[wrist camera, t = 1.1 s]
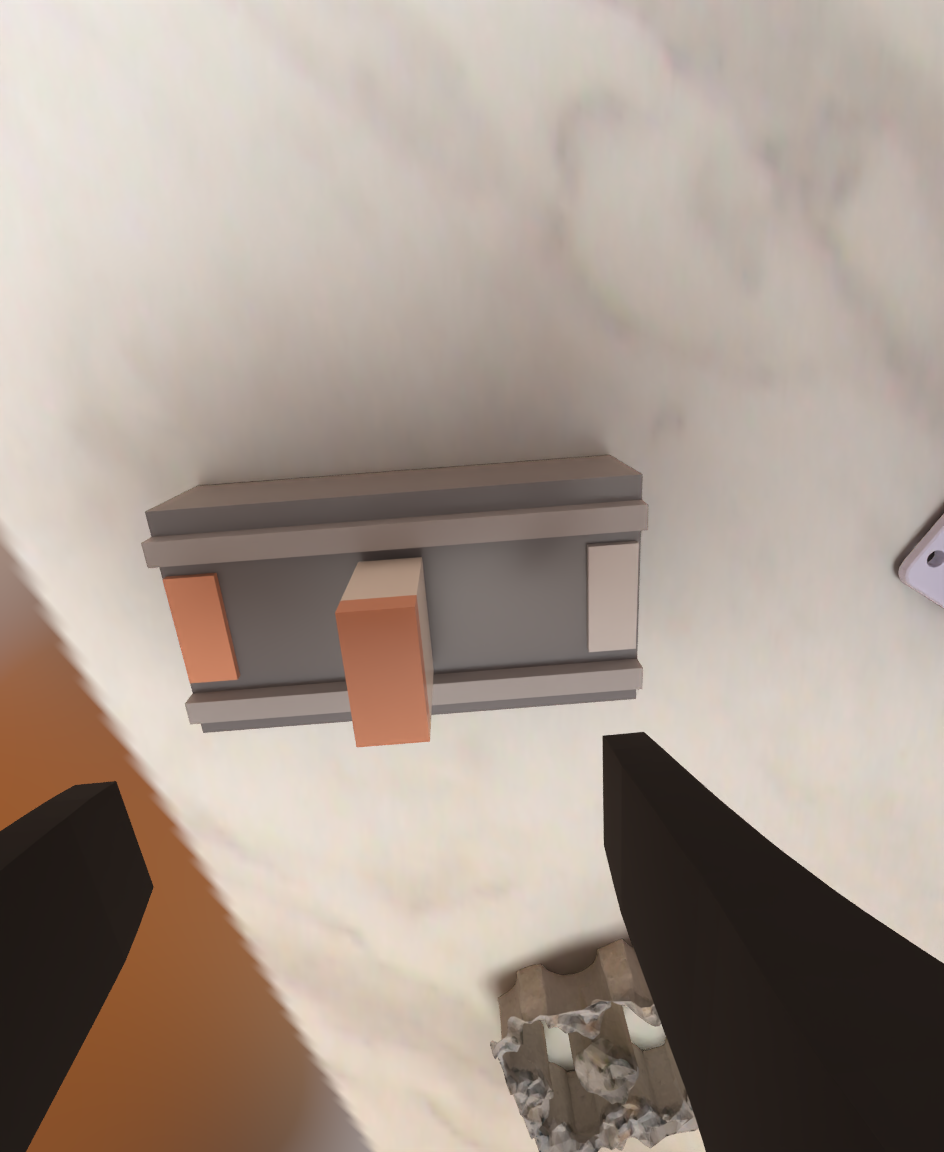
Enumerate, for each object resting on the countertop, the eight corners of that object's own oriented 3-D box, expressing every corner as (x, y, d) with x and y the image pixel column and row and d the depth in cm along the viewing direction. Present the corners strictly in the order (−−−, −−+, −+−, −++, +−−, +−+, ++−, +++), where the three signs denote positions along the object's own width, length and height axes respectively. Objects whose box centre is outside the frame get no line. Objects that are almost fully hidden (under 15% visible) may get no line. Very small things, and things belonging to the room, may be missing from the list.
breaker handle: (422, 556, 14) (414, 606, 11) (433, 669, 15) (429, 741, 12) (358, 561, 14) (335, 612, 11) (374, 674, 15) (356, 747, 12)
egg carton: (745, 892, 23) (805, 1000, 19) (770, 1018, 25) (828, 1136, 22) (479, 962, 24) (486, 1080, 20) (530, 1078, 26) (544, 1202, 22)
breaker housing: (610, 454, 17) (649, 478, 13) (607, 647, 19) (641, 709, 15) (197, 485, 17) (134, 516, 13) (241, 676, 19) (195, 744, 15)
